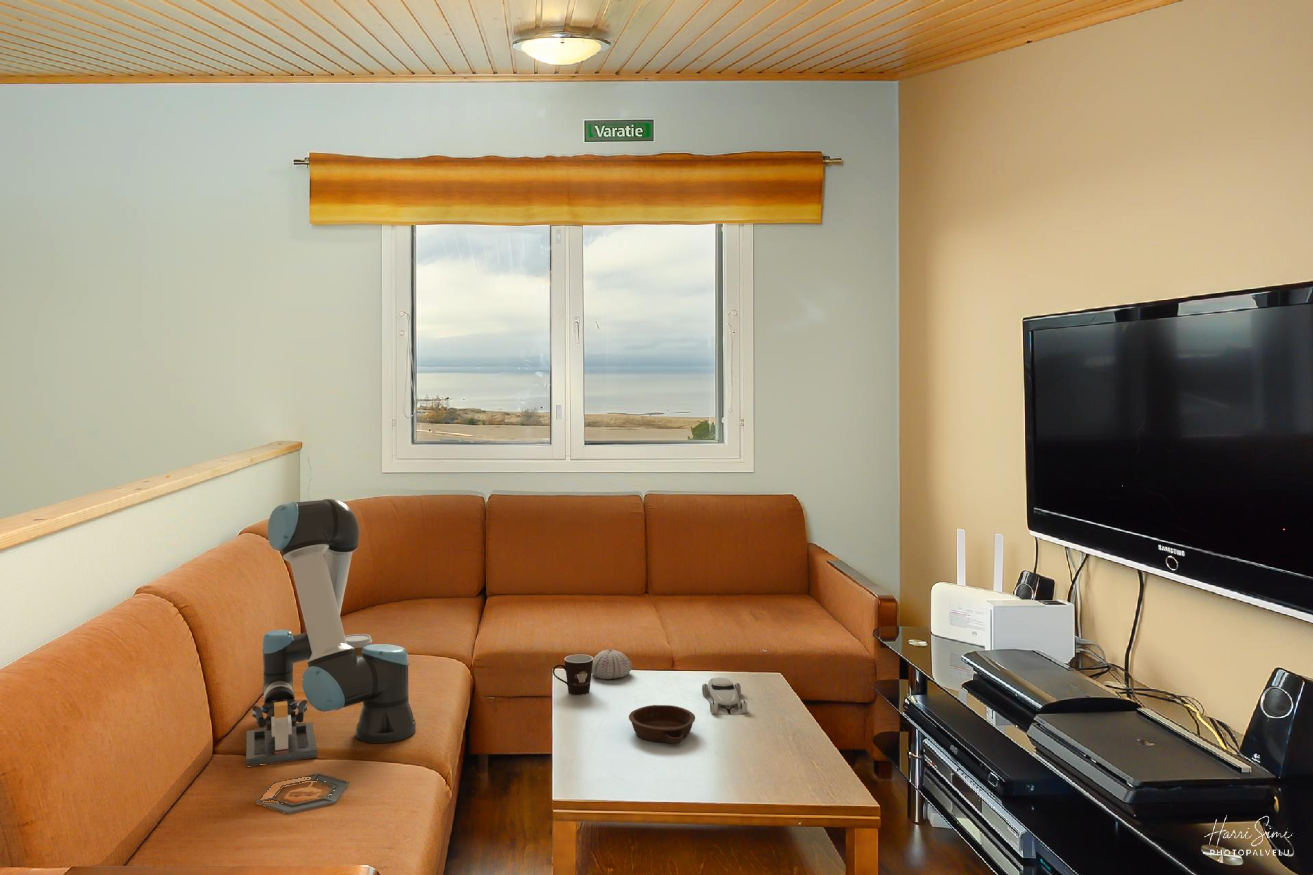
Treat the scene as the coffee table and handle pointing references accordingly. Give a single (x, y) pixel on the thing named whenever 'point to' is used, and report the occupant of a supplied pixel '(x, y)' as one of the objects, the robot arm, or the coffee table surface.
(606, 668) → the sea urchin shell
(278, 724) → the breaker lever
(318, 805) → the hexagonal plaque
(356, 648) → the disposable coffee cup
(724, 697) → the car model
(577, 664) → the coffee mug
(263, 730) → the panel
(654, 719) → the dish
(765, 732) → the coffee table surface
